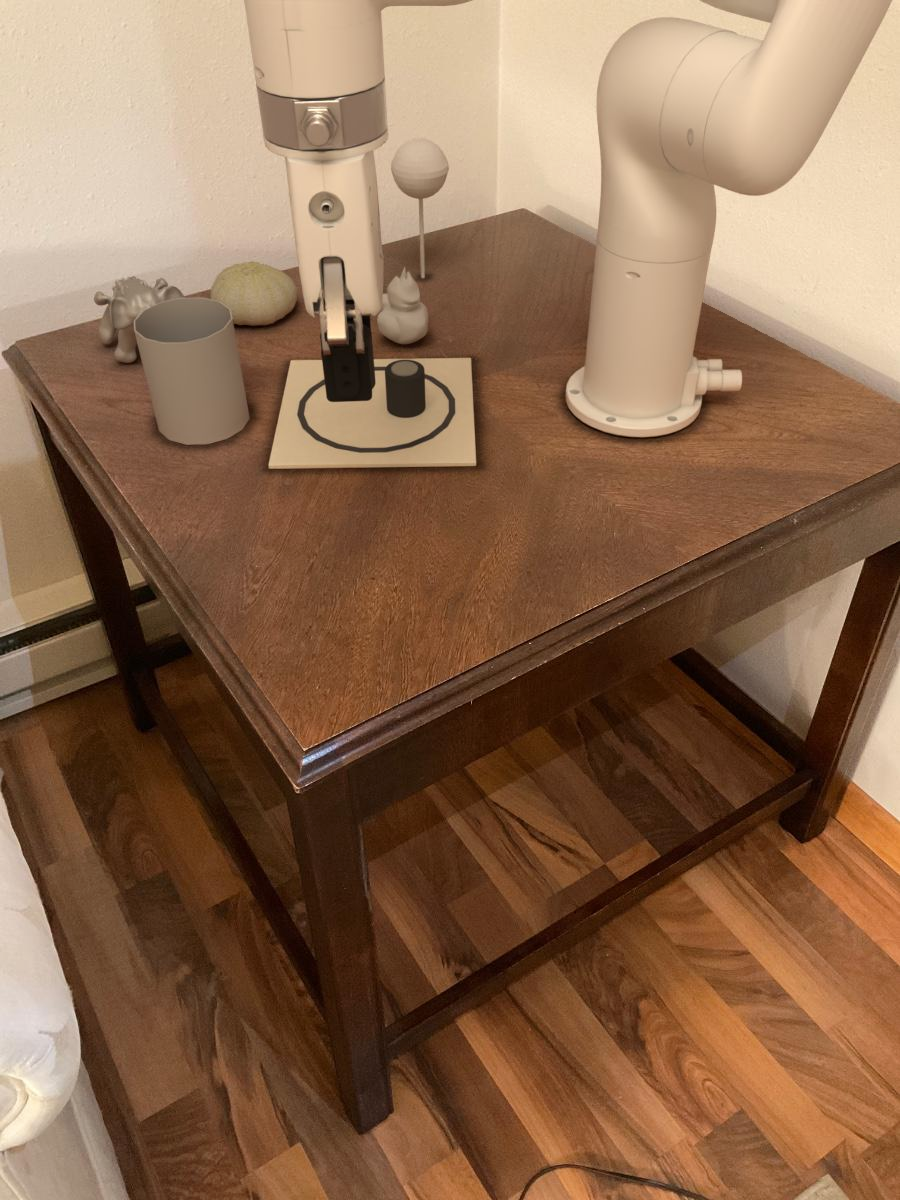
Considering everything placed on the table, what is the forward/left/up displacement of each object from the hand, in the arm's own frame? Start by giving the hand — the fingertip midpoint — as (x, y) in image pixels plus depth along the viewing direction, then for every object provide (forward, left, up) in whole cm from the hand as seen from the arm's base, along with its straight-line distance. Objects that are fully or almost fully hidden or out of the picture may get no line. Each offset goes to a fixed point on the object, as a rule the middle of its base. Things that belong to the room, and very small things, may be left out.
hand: (350, 380), depth 71 cm
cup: (+16, -15, -13) cm, 26 cm away
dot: (0, 0, 0) cm, 0 cm away
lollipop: (-4, -44, -13) cm, 47 cm away
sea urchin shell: (+14, -36, -13) cm, 41 cm away
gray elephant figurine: (+22, -27, -13) cm, 38 cm away
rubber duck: (-2, -30, -13) cm, 33 cm away
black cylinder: (-3, -16, -13) cm, 21 cm away
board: (0, -16, -13) cm, 21 cm away
